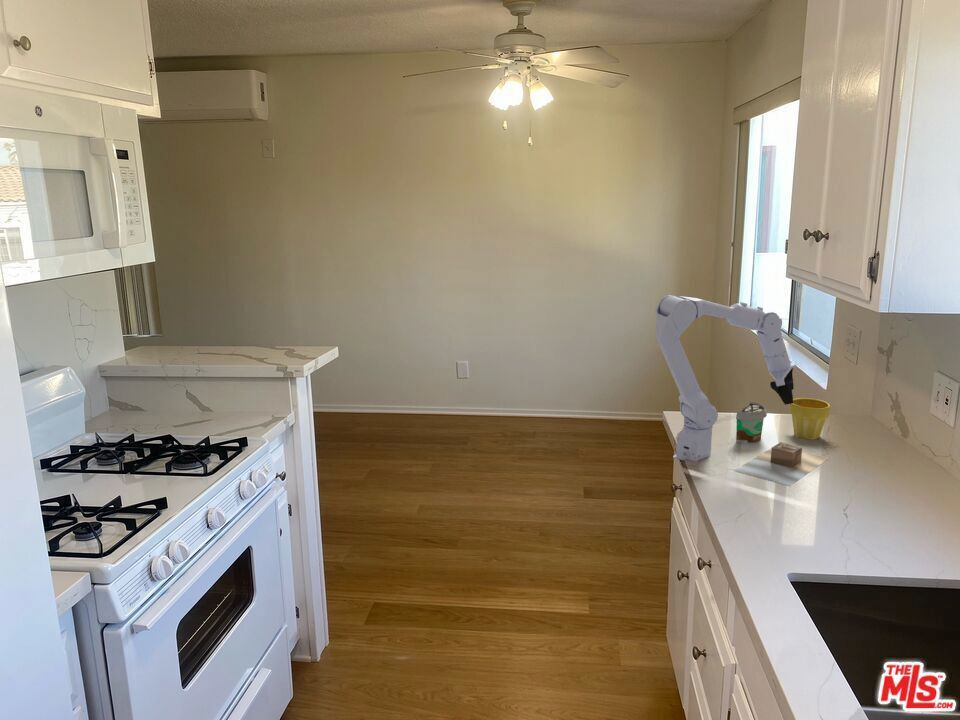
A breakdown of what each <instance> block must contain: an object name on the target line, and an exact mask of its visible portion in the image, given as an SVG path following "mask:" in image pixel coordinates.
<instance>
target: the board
mask: <svg viewBox="0 0 960 720" xmlns="http://www.w3.org/2000/svg"><path fill="white" fill-rule="evenodd" d="M829 459H830V457H827V456H824V455H823V456H822V455H819V454H814V453H810V452H805V451H802V457H801V462H800V463H799V464H797V465H796V466H794V467H793V468H790V467H786V466H782V465H779V464H775V463H771V448H769V449H768V450H766V451H764V452H763V453H761V454H759V455H758V456H756V457H755V458H753V459H751V460H750V461H748V462H746V463H744V464H743V465H741V466H739V467H738V468H736V469H734V470H733V471H734V472H736V473H740V474H743V475H747V476H751V477H754V478H758V479H761V480H765V481H768V482H773V483H776V484H780V485H784V486H786V487H791V486H792V485H794V484H795V483H797V482H798V481H799V480H801V479H802V478H804V477H805V476H806V475H807V474H809V473H811V472H812V471H813V470H815V469H816V468H818V467H819V466H820V465H822V464H823V463H825V462H826V461H828V460H829Z"/></svg>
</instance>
